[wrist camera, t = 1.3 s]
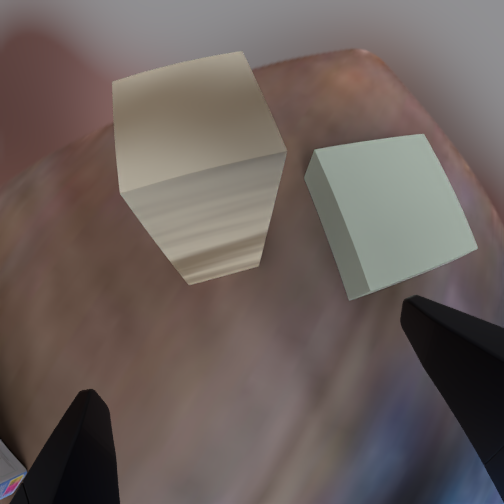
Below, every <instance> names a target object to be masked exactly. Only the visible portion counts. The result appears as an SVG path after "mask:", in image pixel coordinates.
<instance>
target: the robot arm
mask: <svg viewBox="0 0 504 504" xmlns="http://www.w3.org/2000/svg"><path fill="white" fill-rule="evenodd" d="M400 322H401V326H402V328H403V330H404V332H405V334H406V336H407V338H408V339H409V341H410V343H411V345H412V347H413V349H414V351H415V353H416V354H417V356H418V358H419V360H420V362H421V364H422V366H423V367H424V369H425V370H426V372H427V373H428V375H429V376H430V378H431V379H432V381H433V383H434V384H435V386H436V387H437V389H438V390H439V392H440V393H441V395H442V396H443V398H444V399H445V401H446V403H447V404H448V406H449V407H450V409H451V411H452V412H453V414H454V415H455V417H456V419H457V420H458V422H459V423H460V425H461V427H462V428H463V430H464V432H465V433H466V435H467V437H468V438H469V440H470V442H471V443H472V445H473V447H474V449H475V450H476V452H477V454H478V456H479V457H480V459H481V461H482V463H483V464H484V467H485V468H486V470H487V472H488V474H489V476H490V477H491V479H492V481H493V483H494V485H495V487H496V489H497V490H498V492H499V494H500V496H501V498H502V500H503V502H504V328H502V327H500V326H497V325H494V324H492V323H489V322H487V321H484V320H482V319H479V318H476V317H474V316H471V315H469V314H466V313H463V312H461V311H458V310H456V309H453V308H450V307H448V306H445V305H443V304H440V303H437V302H435V301H432V300H429V299H427V298H424V297H421V296H419V295H413V296H411V297H408V298H406V299H404V301H403V305H402V312H401V318H400ZM10 504H120V498H119V488H118V475H117V462H116V453H115V447H114V440H113V434H112V426H111V419H110V412H109V408H108V406H107V405H106V403H105V402H104V401H103V400H102V399H101V397H100V396H99V395H98V394H97V392H96V391H95V390H93V389H87V390H82V391H80V392H79V393H78V394H77V396H76V397H75V399H74V400H73V402H72V403H71V405H70V406H69V408H68V409H67V411H66V412H65V414H64V416H63V417H62V419H61V420H60V422H59V423H58V425H57V426H56V428H55V429H54V431H53V433H52V434H51V436H50V437H49V439H48V440H47V442H46V444H45V445H44V447H43V449H42V450H41V452H40V453H39V455H38V457H37V458H36V460H35V462H34V463H33V465H32V467H31V468H30V470H29V472H28V473H27V475H26V477H25V478H24V480H23V483H21V485H20V487H19V488H18V490H17V492H16V494H15V495H14V497H13V498H12V500H11V502H10Z"/></svg>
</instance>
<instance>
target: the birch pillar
mask: <svg viewBox="0 0 504 504" xmlns="http://www.w3.org/2000/svg"><path fill="white" fill-rule="evenodd" d="M112 94H113V119H114V135H115V148H116V160H117V170H118V180H119V189H120V194H121V196H122V197H123V198H124V200H125V201H126V203H127V204H128V205H129V207H130V208H131V210H132V211H133V212H134V214H135V215H136V217H137V218H138V219H139V221H140V222H141V223H142V225H143V226H144V227H145V229H146V230H147V231H148V233H149V234H150V235H151V237H152V238H153V239H154V241H155V242H156V243H157V245H158V246H159V247H160V249H161V250H162V251H163V253H164V254H165V255H166V257H167V258H168V259H169V261H170V262H171V263H172V264H173V266H174V267H175V268H176V270H177V271H178V272H179V273H180V275H181V276H182V277H183V278H184V280H185V281H186V282H187V284H188V285H192V284H196V283H200V282H203V281H207V280H211V279H214V278H218V277H222V276H225V275H229V274H233V273H236V272H240V271H244V270H247V269H251V268H254V267H258V266H259V263H260V259H261V255H262V251H263V247H264V243H265V239H266V235H267V231H268V227H269V223H270V219H271V215H272V211H273V207H274V203H275V199H276V195H277V191H278V187H279V183H280V179H281V175H282V171H283V167H284V163H285V159H286V155H287V149H286V147H285V144H284V142H283V140H282V137H281V135H280V133H279V130H278V128H277V126H276V123H275V121H274V119H273V116H272V114H271V112H270V110H269V107H268V105H267V103H266V101H265V99H264V96H263V94H262V92H261V90H260V88H259V85H258V83H257V81H256V79H255V77H254V75H253V73H252V70H251V68H250V66H249V64H248V62H247V60H246V58H245V56H244V54H243V52H242V51H239V52H233V53H227V54H221V55H216V56H210V57H205V58H200V59H195V60H191V61H186V62H181V63H177V64H173V65H169V66H165V67H161V68H157V69H154V70H150V71H146V72H143V73H139V74H136V75H133V76H129V77H126V78H123V79H120V80H117V81H114V82H112Z"/></svg>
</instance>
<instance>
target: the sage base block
mask: <svg viewBox="0 0 504 504" xmlns="http://www.w3.org/2000/svg"><path fill="white" fill-rule="evenodd" d="M304 180H305V182H306V185H307V187H308V190H309V192H310V195H311V197H312V200H313V202H314V205H315V207H316V210H317V213H318V215H319V218H320V220H321V223H322V226H323V228H324V231H325V234H326V236H327V239H328V242H329V245H330V247H331V250H332V253H333V256H334V259H335V261H336V264H337V267H338V270H339V273H340V276H341V279H342V282H343V285H344V288H345V291H346V294H347V297H348V300H349V301H350V300H353V299H356V298H359V297H362V296H365V295H367V294H370V293H373V292H376V291H378V290H381V289H384V288H386V287H389V286H392V285H394V284H397V283H400V282H402V281H405V280H407V279H410V278H413V277H415V276H418V275H420V274H423V273H425V272H428V271H430V270H433V269H435V268H438V267H440V266H442V265H445V264H447V263H450V262H452V261H454V260H456V259H458V258H460V257H462V256H464V255H466V254H468V253H470V252H472V251H474V250H476V249H478V247H477V244H476V242H475V239H474V237H473V234H472V232H471V229H470V227H469V224H468V222H467V219H466V217H465V215H464V212H463V210H462V208H461V206H460V203H459V201H458V199H457V197H456V195H455V192H454V190H453V188H452V186H451V184H450V182H449V180H448V178H447V176H446V174H445V172H444V170H443V168H442V166H441V164H440V162H439V160H438V159H437V157H436V155H435V153H434V151H433V149H432V148H431V146H430V144H429V142H428V140H427V139H426V137H425V135H424V134H417V135H408V136H400V137H392V138H384V139H377V140H370V141H363V142H357V143H350V144H344V145H338V146H332V147H326V148H320V149H315V150H314V152H313V155H312V157H311V160H310V163H309V165H308V168H307V171H306V173H305V176H304Z"/></svg>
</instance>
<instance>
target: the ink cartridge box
mask: <svg viewBox="0 0 504 504" xmlns="http://www.w3.org/2000/svg"><path fill="white" fill-rule="evenodd" d="M26 473H27V470H26V468H25V467H24V466H23V465H22V464H21V463H20V462H19V461H18V460H17V459H16V457H15V456H14V455H13V454H12V453H11V452H10V451H9V449H8V448H7V447H6V446H5V445H4V443H3V442H2V441H1V440H0V500H1V499H3V498H5V497H7V496H9V495H11V494H13V492H14V491H15V490H16V488H17V487H18V485H19V484H20V482H21V481H22V479H23V478H24V477H25V475H26Z"/></svg>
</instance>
